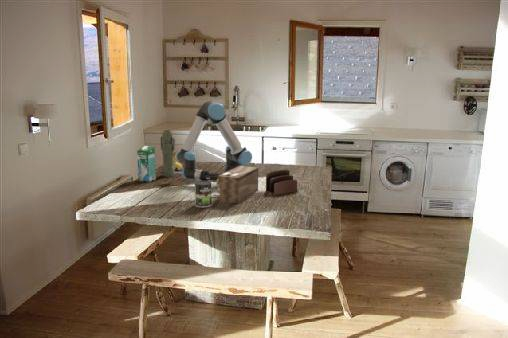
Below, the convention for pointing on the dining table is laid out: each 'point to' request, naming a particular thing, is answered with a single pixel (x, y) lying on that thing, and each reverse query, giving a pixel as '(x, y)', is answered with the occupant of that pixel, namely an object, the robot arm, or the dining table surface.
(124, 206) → the dining table surface
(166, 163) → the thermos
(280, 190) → the letter holder
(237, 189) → the box
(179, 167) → the stuffed giraffe
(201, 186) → the coffee can
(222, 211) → the dining table surface
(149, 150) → the milk carton
